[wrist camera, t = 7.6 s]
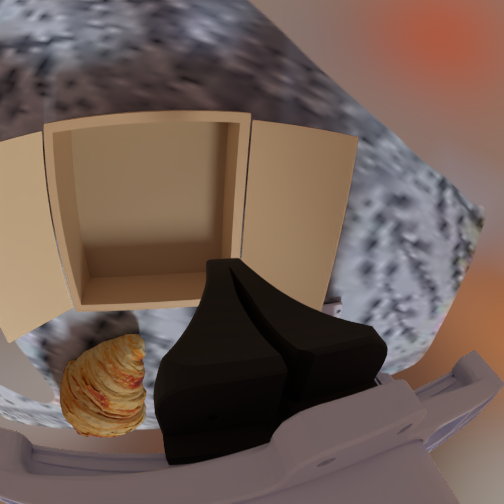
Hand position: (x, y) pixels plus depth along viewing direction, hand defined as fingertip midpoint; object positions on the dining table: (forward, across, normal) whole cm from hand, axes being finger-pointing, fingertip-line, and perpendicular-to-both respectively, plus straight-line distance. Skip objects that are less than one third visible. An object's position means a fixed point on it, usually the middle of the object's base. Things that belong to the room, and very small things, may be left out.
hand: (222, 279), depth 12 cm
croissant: (+11, +11, +20) cm, 26 cm away
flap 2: (+4, -4, 0) cm, 6 cm away
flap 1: (+4, +12, 0) cm, 13 cm away
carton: (+10, +4, 0) cm, 11 cm away
